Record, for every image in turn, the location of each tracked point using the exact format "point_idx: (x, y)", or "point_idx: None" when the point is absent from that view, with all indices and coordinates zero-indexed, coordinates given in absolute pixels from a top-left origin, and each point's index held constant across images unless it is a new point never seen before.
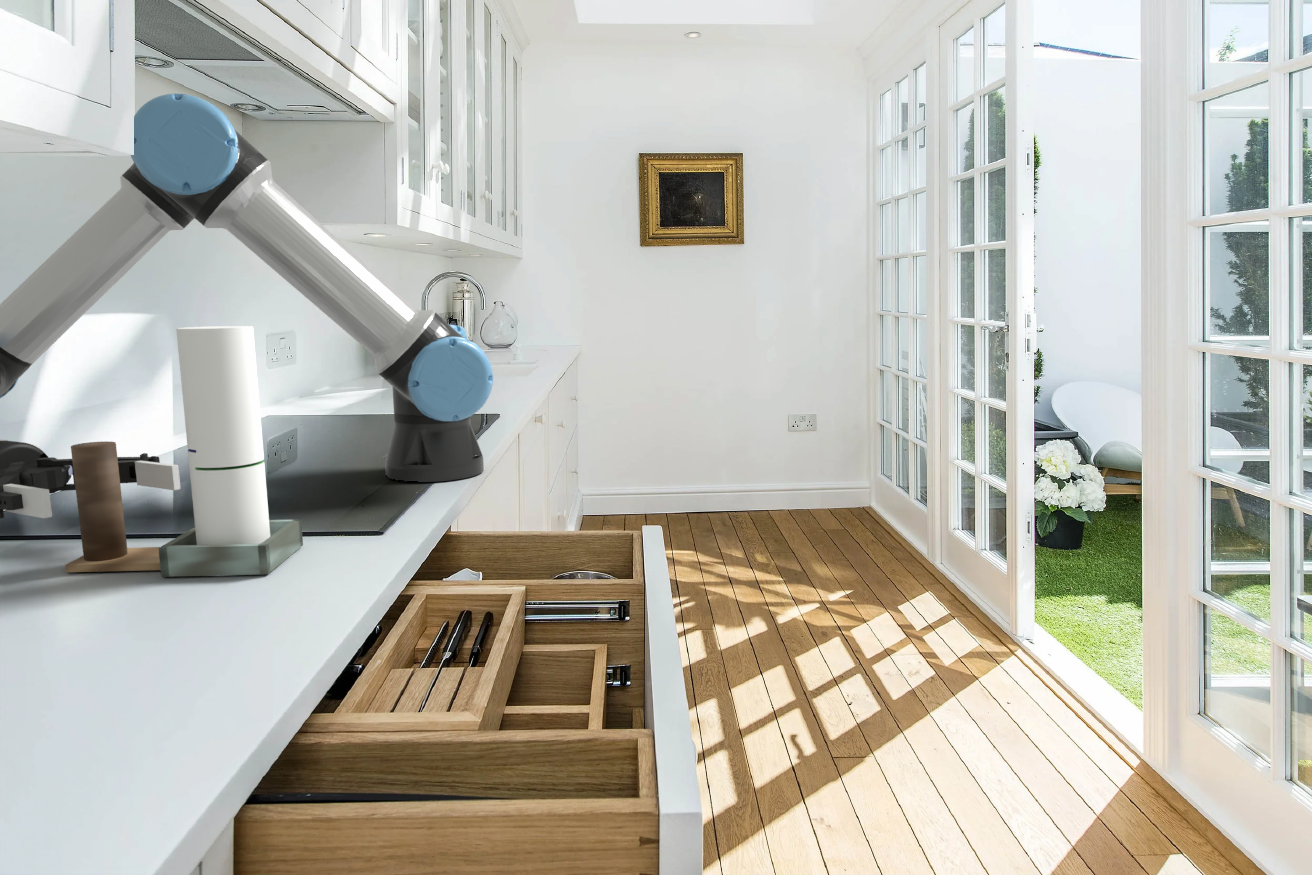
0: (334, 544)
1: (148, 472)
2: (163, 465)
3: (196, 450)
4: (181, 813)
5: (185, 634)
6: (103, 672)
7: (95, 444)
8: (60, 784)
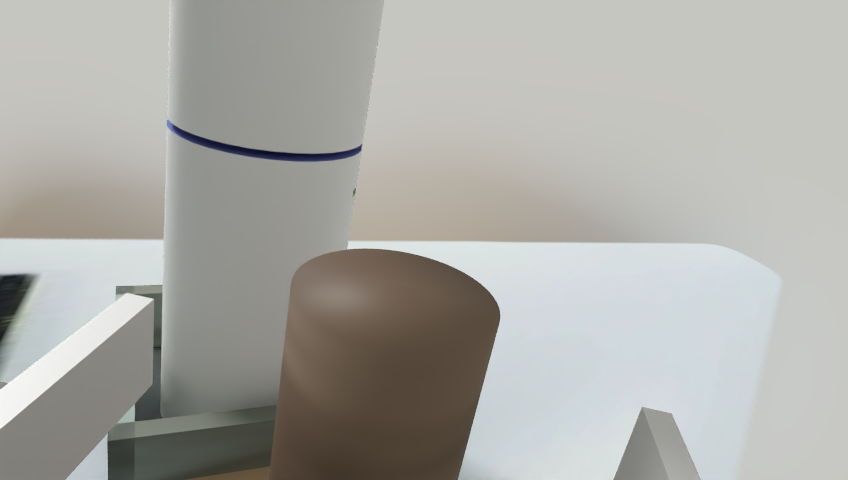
0: (101, 311)
1: (45, 437)
2: (122, 327)
3: (361, 144)
4: (701, 247)
5: (558, 325)
6: (669, 339)
7: (388, 290)
8: (748, 288)
